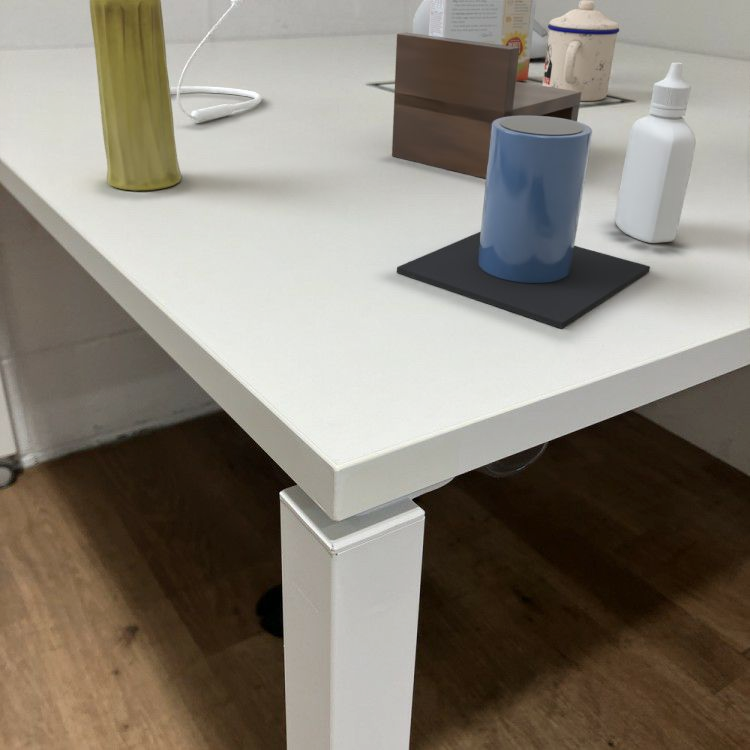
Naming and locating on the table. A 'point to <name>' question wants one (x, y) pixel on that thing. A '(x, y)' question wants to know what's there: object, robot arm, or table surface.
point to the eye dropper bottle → (657, 164)
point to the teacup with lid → (581, 52)
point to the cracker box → (487, 24)
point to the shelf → (462, 100)
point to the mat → (534, 300)
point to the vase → (134, 94)
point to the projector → (538, 34)
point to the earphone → (214, 88)
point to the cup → (532, 197)
